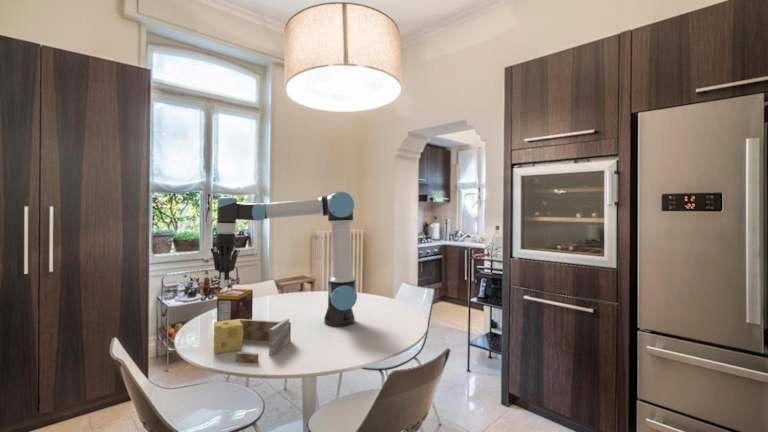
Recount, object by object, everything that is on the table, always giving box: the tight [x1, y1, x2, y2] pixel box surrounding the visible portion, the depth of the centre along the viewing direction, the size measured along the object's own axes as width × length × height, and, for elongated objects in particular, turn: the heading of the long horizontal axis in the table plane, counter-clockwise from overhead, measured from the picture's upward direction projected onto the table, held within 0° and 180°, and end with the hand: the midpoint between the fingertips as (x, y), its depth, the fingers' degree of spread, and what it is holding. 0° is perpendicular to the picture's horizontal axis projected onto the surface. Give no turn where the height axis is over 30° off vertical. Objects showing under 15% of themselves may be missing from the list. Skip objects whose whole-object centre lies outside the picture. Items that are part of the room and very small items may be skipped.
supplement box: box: [216, 288, 254, 322], centre depth 174 cm, size 10×15×16 cm
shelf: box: [235, 318, 292, 364], centre depth 142 cm, size 24×24×10 cm
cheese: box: [213, 319, 244, 355], centre depth 143 cm, size 10×11×10 cm
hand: (223, 287), depth 154 cm, fingers closed
